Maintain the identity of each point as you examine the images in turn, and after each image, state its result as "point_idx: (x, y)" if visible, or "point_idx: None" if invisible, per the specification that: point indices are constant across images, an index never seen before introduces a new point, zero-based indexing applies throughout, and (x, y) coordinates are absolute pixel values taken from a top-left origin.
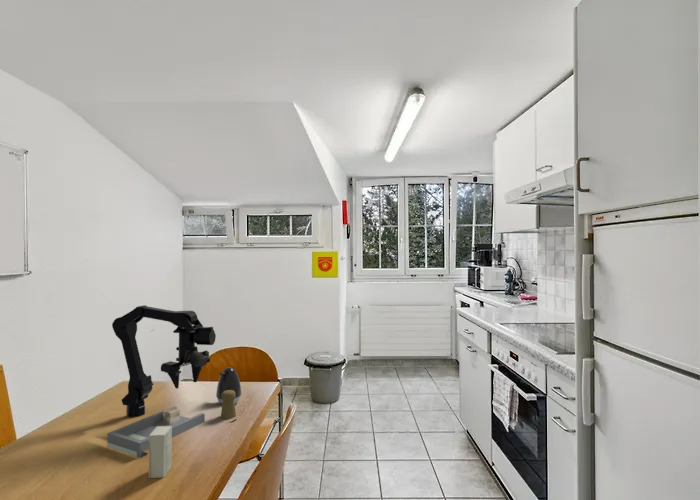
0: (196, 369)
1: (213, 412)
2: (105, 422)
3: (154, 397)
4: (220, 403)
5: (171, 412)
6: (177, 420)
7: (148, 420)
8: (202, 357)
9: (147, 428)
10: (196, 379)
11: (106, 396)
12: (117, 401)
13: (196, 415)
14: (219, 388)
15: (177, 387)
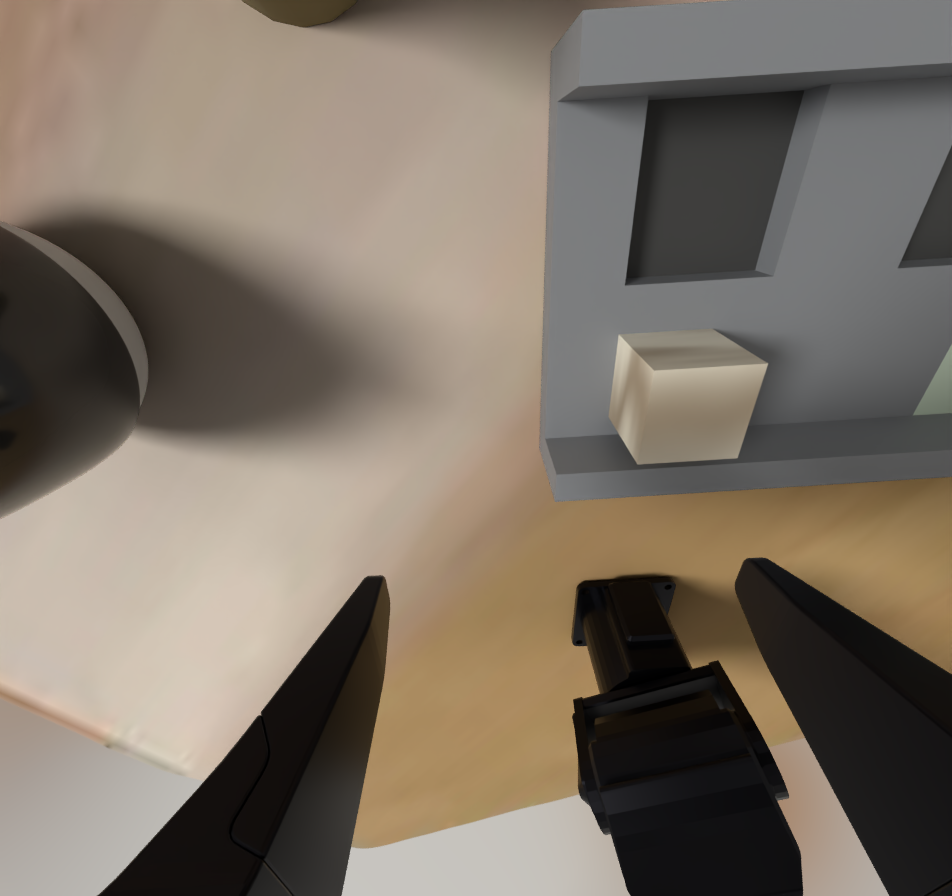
0: (292, 878)
1: (283, 278)
2: (710, 650)
3: (389, 717)
4: (145, 351)
5: (749, 369)
6: (641, 334)
7: (825, 448)
8: None
9: (816, 408)
10: (362, 609)
11: (494, 804)
12: (509, 762)
13: (674, 71)
14: (39, 416)
15: (780, 568)
